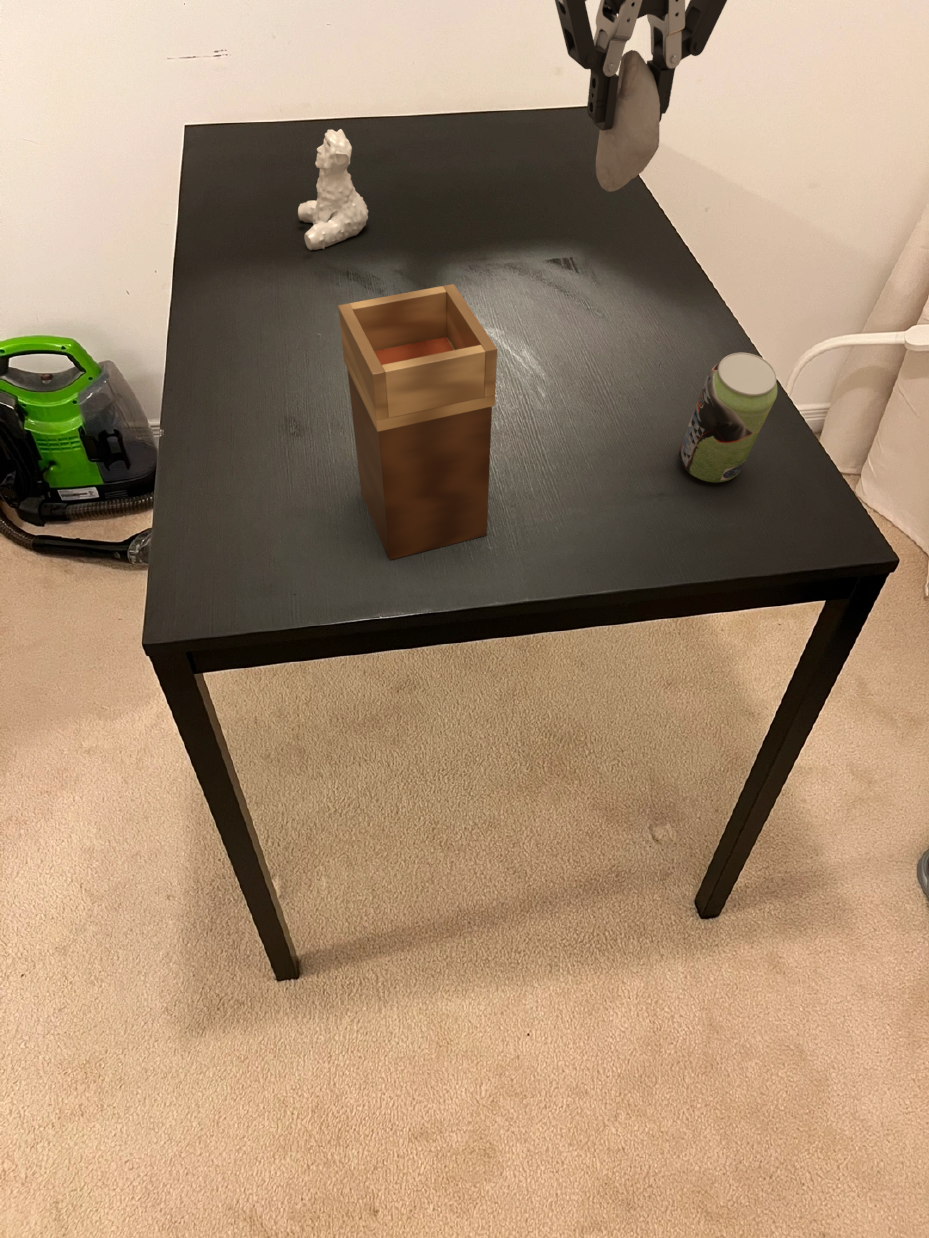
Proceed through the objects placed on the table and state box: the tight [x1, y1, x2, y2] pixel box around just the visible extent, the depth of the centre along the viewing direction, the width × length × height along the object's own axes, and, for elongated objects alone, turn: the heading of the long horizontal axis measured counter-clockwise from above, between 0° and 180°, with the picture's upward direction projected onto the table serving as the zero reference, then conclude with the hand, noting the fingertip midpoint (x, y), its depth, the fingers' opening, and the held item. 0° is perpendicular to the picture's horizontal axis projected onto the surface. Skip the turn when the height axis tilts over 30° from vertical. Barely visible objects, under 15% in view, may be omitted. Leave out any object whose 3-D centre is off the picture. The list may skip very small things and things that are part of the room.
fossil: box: [595, 49, 660, 193], centre depth 67 cm, size 6×4×10 cm, turn 25°
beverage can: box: [678, 352, 778, 483], centre depth 78 cm, size 6×7×12 cm
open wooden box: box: [337, 283, 498, 432], centre depth 66 cm, size 9×9×5 cm
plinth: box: [346, 368, 493, 561], centre depth 74 cm, size 9×9×14 cm
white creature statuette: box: [297, 128, 369, 251], centre depth 107 cm, size 10×9×12 cm
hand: (626, 122), depth 66 cm, fingers closed on fossil, 3 cm apart
